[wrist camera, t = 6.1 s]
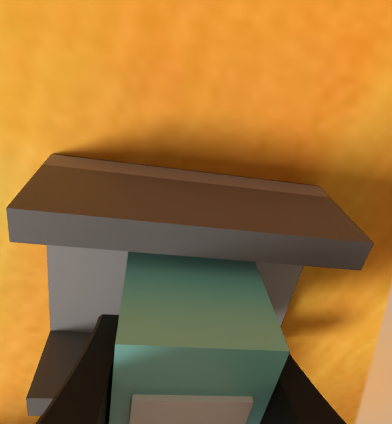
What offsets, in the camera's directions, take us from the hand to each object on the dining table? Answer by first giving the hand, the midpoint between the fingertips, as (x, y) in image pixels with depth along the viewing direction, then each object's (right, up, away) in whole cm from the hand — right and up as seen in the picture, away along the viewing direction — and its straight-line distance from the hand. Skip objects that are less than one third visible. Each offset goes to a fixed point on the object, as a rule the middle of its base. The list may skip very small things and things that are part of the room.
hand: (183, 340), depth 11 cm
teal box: (0, +1, +1) cm, 2 cm away
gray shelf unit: (-1, -1, +5) cm, 6 cm away
